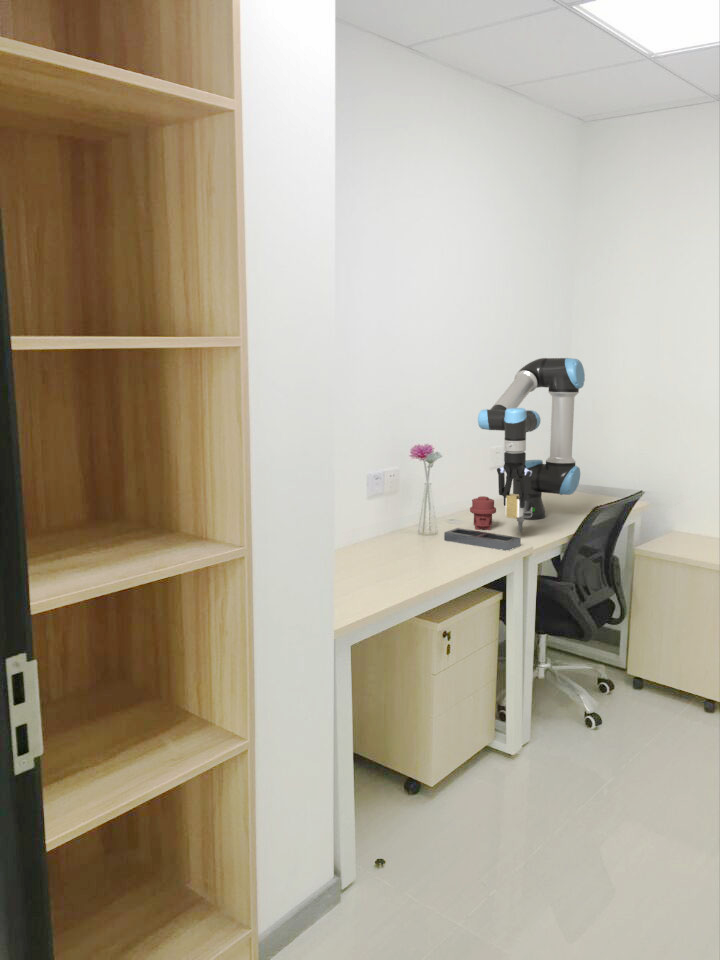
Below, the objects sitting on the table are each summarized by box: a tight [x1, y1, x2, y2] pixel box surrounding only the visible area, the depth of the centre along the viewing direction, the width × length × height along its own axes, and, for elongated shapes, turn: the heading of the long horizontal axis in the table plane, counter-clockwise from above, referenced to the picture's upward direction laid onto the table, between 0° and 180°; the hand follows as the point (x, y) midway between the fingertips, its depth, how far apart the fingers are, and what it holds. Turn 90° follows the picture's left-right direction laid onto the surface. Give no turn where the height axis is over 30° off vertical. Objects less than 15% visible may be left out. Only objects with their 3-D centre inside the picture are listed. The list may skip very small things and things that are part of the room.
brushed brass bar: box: [505, 493, 522, 519], centre depth 301 cm, size 4×4×8 cm
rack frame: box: [443, 527, 521, 551], centre depth 300 cm, size 9×26×3 cm, turn 51°
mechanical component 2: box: [469, 495, 497, 531], centre depth 322 cm, size 12×10×10 cm
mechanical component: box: [516, 507, 535, 534], centre depth 315 cm, size 3×10×10 cm, turn 79°
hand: (514, 515), depth 302 cm, fingers closed on brushed brass bar, 4 cm apart
